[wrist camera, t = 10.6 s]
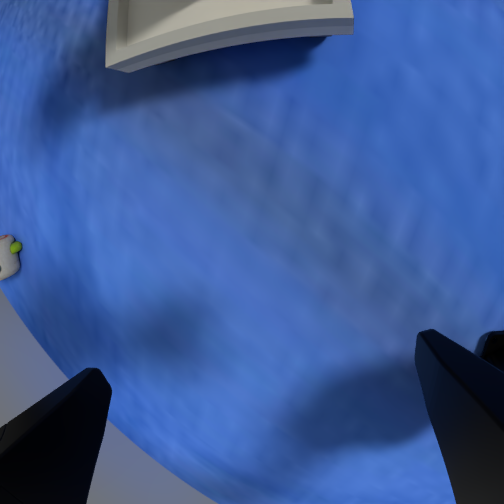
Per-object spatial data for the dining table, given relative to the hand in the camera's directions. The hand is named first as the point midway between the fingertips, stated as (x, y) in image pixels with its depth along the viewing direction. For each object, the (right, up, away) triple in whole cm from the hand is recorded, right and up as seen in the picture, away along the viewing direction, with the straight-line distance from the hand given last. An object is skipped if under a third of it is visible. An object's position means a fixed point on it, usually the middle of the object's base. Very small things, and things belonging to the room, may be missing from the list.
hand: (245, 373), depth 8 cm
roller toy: (-27, +3, +21) cm, 34 cm away
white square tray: (-1, +21, +7) cm, 22 cm away
